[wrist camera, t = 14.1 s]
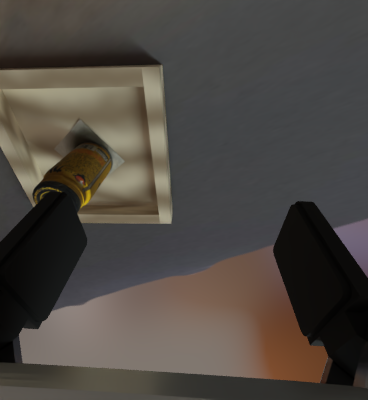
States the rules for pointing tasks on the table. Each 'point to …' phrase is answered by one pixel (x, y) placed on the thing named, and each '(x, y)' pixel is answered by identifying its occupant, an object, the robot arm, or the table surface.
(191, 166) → the table surface
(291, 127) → the table surface
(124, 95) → the tray
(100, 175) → the condiment
